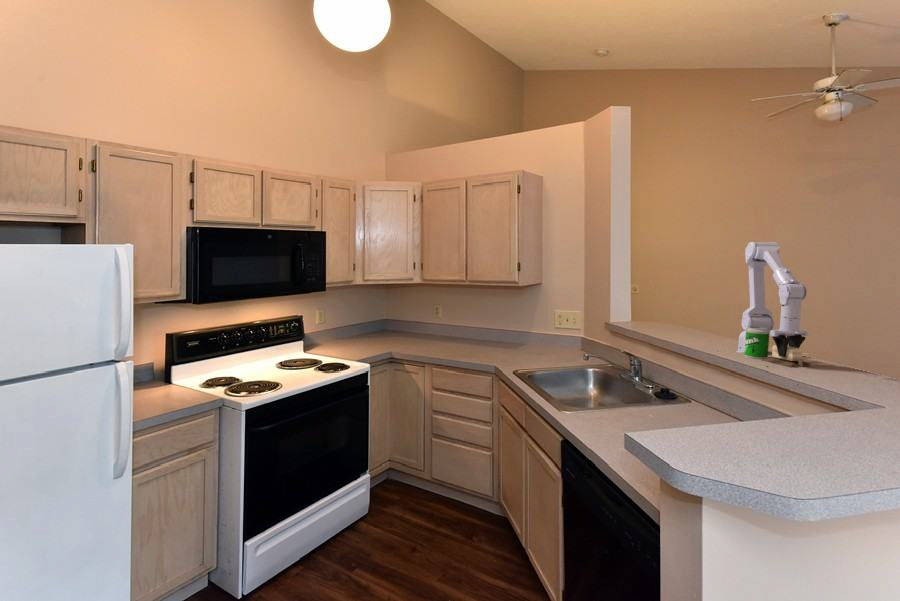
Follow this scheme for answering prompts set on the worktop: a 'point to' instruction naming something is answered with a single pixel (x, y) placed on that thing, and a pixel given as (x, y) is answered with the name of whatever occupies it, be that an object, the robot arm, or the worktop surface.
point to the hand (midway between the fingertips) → (787, 356)
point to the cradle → (796, 362)
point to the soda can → (756, 342)
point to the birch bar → (788, 353)
